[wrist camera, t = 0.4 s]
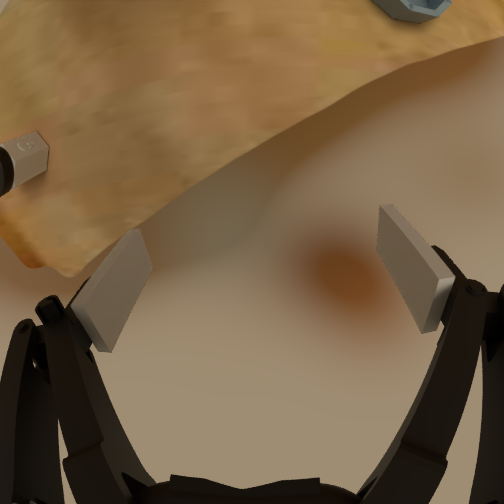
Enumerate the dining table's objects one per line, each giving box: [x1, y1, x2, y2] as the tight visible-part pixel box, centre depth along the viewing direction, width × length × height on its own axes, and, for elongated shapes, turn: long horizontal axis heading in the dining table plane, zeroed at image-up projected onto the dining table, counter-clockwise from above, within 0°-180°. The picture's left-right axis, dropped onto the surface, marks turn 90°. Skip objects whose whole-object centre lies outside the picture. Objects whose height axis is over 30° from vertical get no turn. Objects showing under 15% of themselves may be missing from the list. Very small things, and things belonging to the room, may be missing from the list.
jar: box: [0, 131, 49, 197], centre depth 34 cm, size 9×8×12 cm
